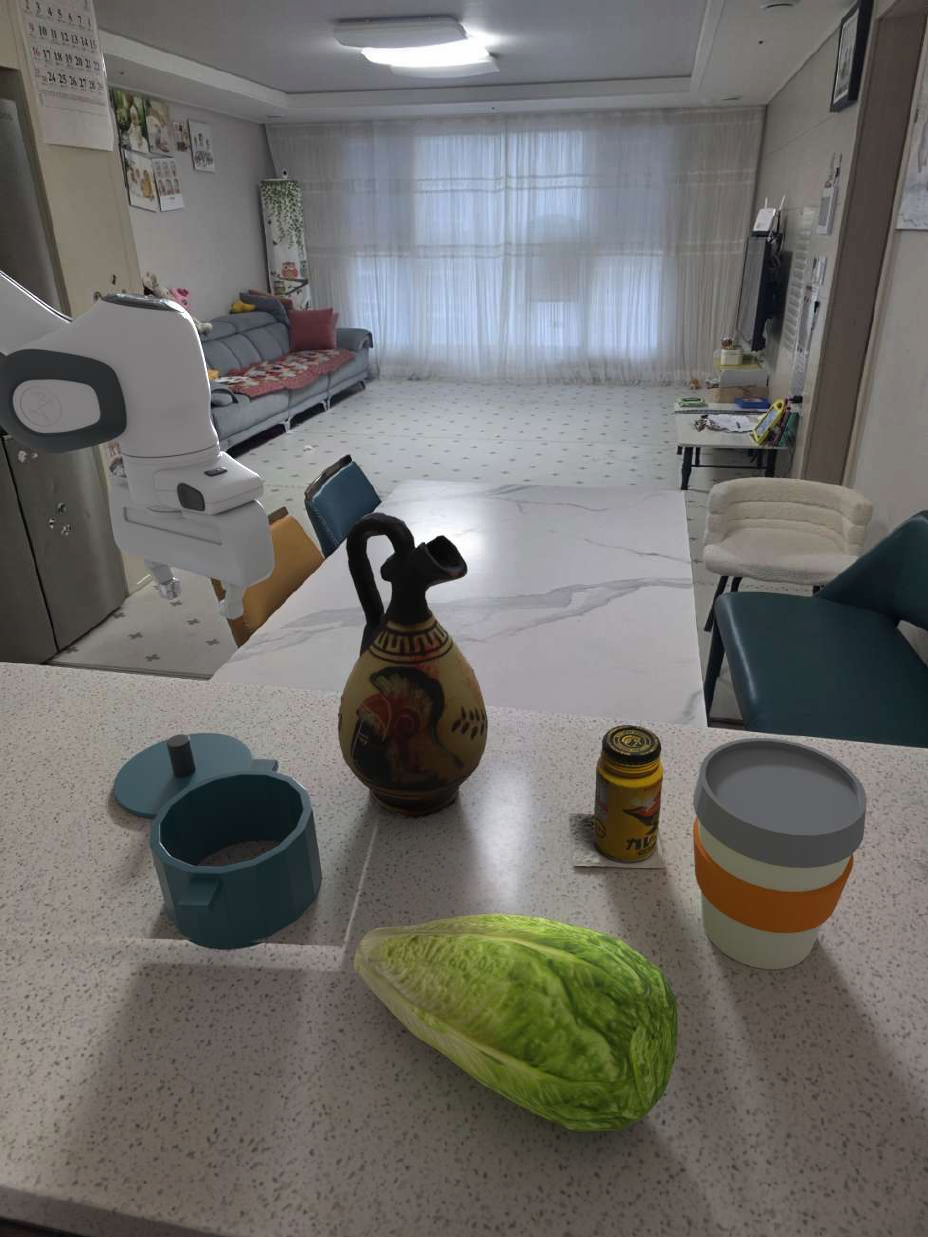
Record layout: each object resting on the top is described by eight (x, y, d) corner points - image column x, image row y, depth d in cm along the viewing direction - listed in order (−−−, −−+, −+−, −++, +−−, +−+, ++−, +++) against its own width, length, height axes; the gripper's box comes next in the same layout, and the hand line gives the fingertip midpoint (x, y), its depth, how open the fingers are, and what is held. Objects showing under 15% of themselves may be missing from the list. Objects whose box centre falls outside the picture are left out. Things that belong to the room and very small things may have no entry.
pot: (129, 972, 67) (105, 895, 64) (211, 819, 84) (196, 751, 81) (291, 980, 66) (277, 901, 62) (341, 823, 83) (333, 754, 79)
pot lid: (90, 821, 85) (78, 781, 82) (150, 739, 98) (141, 702, 96) (229, 825, 83) (220, 784, 81) (271, 742, 97) (265, 704, 94)
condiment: (665, 869, 76) (675, 762, 71) (573, 867, 77) (576, 761, 71) (654, 817, 82) (663, 716, 77) (569, 815, 83) (572, 715, 78)
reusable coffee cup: (853, 998, 63) (891, 846, 56) (684, 977, 65) (702, 829, 59) (820, 880, 74) (849, 742, 67) (676, 866, 76) (691, 730, 70)
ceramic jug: (513, 765, 91) (511, 506, 78) (446, 853, 79) (430, 564, 66) (383, 729, 98) (361, 486, 85) (303, 805, 86) (263, 535, 73)
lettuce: (414, 863, 70) (330, 873, 59) (703, 951, 59) (666, 984, 48) (384, 1008, 69) (292, 1046, 58) (675, 1126, 58) (630, 1202, 47)
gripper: (81, 469, 82) (111, 596, 88) (223, 500, 71) (246, 641, 77) (135, 454, 86) (160, 576, 92) (275, 481, 76) (293, 615, 82)
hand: (200, 606), depth 85 cm, fingers open, 8 cm apart
